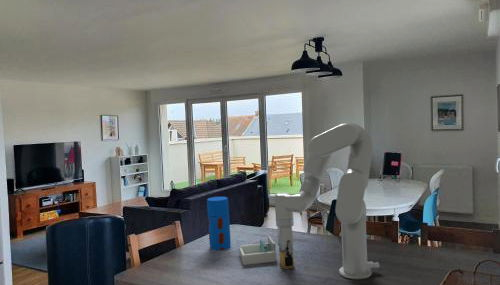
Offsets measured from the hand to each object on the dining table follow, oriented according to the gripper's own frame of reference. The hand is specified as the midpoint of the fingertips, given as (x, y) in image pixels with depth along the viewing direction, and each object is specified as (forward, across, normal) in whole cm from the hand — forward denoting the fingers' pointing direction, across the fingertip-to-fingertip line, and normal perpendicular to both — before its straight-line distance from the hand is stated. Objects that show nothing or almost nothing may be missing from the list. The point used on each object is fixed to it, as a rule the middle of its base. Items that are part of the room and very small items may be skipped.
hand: (286, 262), depth 167 cm
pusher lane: (+2, -14, -10) cm, 18 cm away
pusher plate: (+1, -14, -7) cm, 16 cm away
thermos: (+2, -36, -26) cm, 44 cm away
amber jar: (+2, 0, 0) cm, 2 cm away
